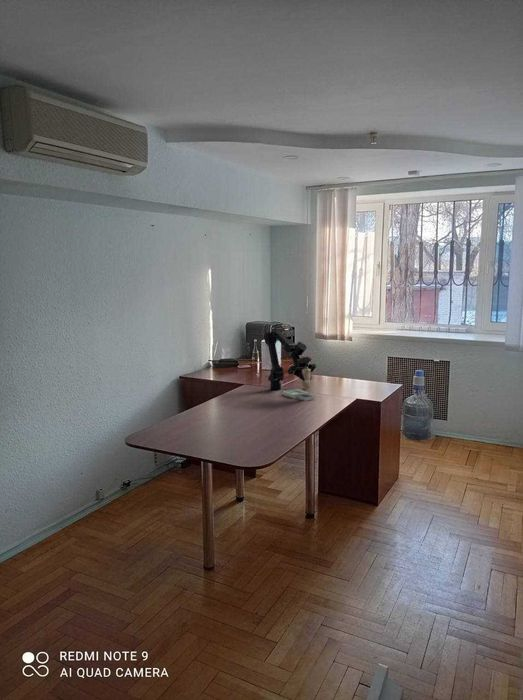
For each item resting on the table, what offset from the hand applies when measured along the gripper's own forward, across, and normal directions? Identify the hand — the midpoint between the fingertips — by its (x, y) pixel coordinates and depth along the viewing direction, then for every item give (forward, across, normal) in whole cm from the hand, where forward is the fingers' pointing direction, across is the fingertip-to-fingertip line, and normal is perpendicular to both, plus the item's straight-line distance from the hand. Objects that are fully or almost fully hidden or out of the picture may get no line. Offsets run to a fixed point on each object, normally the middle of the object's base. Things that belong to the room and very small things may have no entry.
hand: (307, 379), depth 316 cm
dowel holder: (+8, 0, +10) cm, 12 cm away
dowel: (+4, 0, +6) cm, 7 cm away
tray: (0, 0, +18) cm, 18 cm away
